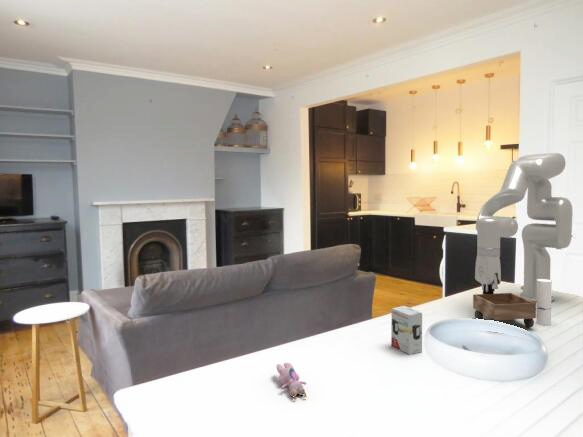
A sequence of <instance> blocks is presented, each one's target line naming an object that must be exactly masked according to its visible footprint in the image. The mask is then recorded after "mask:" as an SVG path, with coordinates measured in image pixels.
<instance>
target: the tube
mask: <svg viewBox="0 0 583 437" xmlns="http://www.w3.org/2000/svg"><path fill="white" fill-rule="evenodd" d="M552 285H553V284H552V280H551V279H550V280H547V279H537V302H536V318H535V320H536V322H535V323H536V324H538V325H541V326H551V324H552V302H551V296H552Z"/></svg>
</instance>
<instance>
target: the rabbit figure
mask: <svg viewBox="0 0 583 437" xmlns="http://www.w3.org/2000/svg"><path fill="white" fill-rule="evenodd" d="M276 370H277V372H278V374H279V380H278V381H279V383H280V384H281V385H282V386H281V389H284V388H285V387H286V388H287V387H289V389H288V392H289V395H291V396H294V397H293V399H294V400H298V398H297V396H299V395H303V394H304V395H303V398H305V397H306V398H308V397H307V394H306V391H305V390H306V389H305V388H304V386H303V385H307V382H306V381H301V380H300V376H299V374H298V373H297V372H296V371H295V369H294V366H293V364H292V363H290V362H284V363H283V365H282V364H280V363H279V364H278V363H277V364H276ZM297 394H299V395H297ZM296 395H297V396H296ZM291 396H290V397H291Z"/></svg>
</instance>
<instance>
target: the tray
mask: <svg viewBox="0 0 583 437" xmlns="http://www.w3.org/2000/svg"><path fill="white" fill-rule="evenodd" d="M472 300H473V301H472V308H473V309H474V310H475V311H474V318H475V319H476V318H478V319H483V320H484V315H485V316H486V317H489V318H488V320H494V321H497V322H498V321H504V320H508V321H509V320H523V324H524V326H525V327H526V328H533V327H534V325H535V322H534V319H536V311H537V302H533V301H529V300H527V299H524V298H522V297H520V296H519V295H517V294H514V293H512V292H504V293H502V292H500V293H494V294H483V293H481V294H480V293H479V294H475V293H474V294H473V298H472Z"/></svg>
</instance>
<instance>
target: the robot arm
mask: <svg viewBox="0 0 583 437" xmlns="http://www.w3.org/2000/svg"><path fill="white" fill-rule="evenodd" d="M566 163H567V162H566V158H565V157H564V155H563V154H561V153H559V152H549V153H537V154H527V155H523V156H520V157H519V158H518V159H516V160H514V161H512V162H511V163H510V164H509V167H508V169H507V172H506V175H505V178H504V180H503V182H502V186H501V188H500V190H499V191H498V192H497V193H496V194H493V196H492V197H490V198H489V199H488V200H487V201H485V202H484V204H482V207H481V208H480V210H479V213H478V216H477V217H476V218H477V219H476V221H475V229H476V232H477V235H476V236H477V238H476V239H477V240H476V242H477V243H476V244H477V247H476V248H477V249H476V250H477V252H476V253H477V254H476V259H475V267H474V269H475V270H474V271H475V272H474V279H475V280H476V281H477V282H479V284H480V285H481V289H482V294H495V293H494V292H495V290H498V288H499V286H498V285H500V284H501V281H502V280H501V279H502V273H501V271H502V269H501V267H502V266H501V259H500V257H501V238H510V237H513V236H515V235H516V234H517V232H518V231H519V223H518V222H517V220H516V219H515V218H513V217H510V216H495V214H496V213H497V212H498V211H500V210H502V209H504V208H506V207H509V206H513V205H515V204H517V203H520V202H521V201H522V200H524V198H525V195H526V193H527V198H526V202H527V203H526V215H527V216H528V218H529V219H531V220H534V221H548V222H549V221H551V222H555V223H553V224H551V223H537V222H536V223H528V224H526V225H525V226H523V228H522V231H521V239H522V246H523V286H522V285H521V286H520V288H519V289H520V290H521V291H522V292H521V293H519V295H518V296H520V297H522V298H524V299H527V300H529V301H532V302H534V303H537V279H547V280H551V260H552V259H551V256H550V254H549V252H548V250H547V248H548V249H549V248H551V249H553V248H554V249H566V248H568V247H569V246H570V244H571V241H572V233H573V229H572V228H573V204H572V203H571V202H572V201H571V200H569V199H568V198H566V197H562V196H556V197H555V196H553V197H552V186H553V185H552V183H551V181H550V179H552V178H555V177H557V176H559V175H561V174H562V173H563V171H565V169H566ZM554 301H555V297H554V296H553V295H551V303H552V302H554Z"/></svg>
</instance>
